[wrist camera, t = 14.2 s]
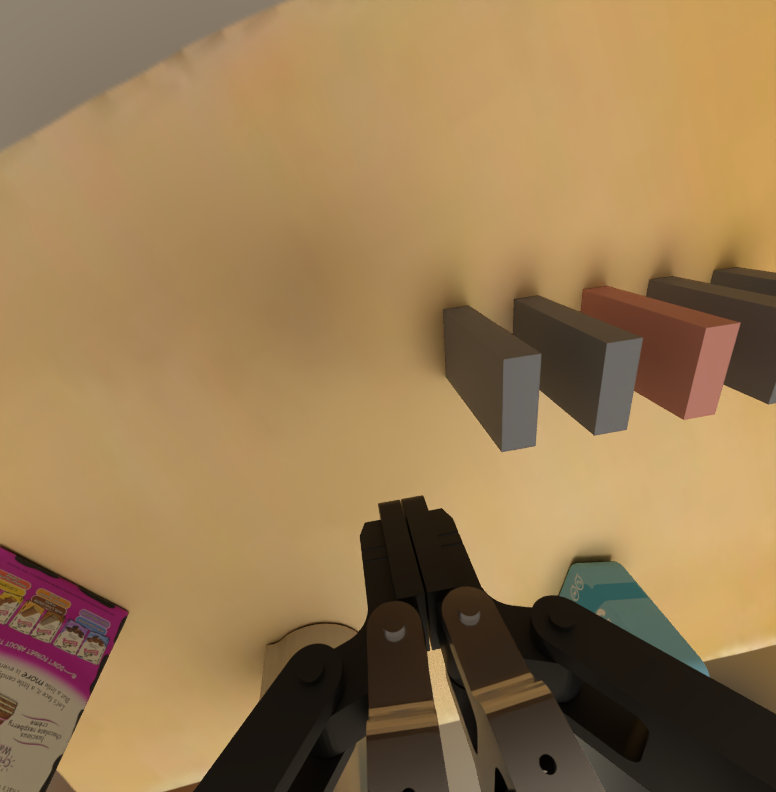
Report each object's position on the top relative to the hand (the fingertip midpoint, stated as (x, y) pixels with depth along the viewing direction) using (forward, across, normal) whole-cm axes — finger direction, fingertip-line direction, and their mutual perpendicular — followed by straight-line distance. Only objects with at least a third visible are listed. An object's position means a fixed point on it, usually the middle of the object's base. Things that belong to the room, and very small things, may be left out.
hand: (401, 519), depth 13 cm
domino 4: (+16, -22, 0) cm, 27 cm away
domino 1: (+16, -7, 0) cm, 18 cm away
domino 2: (+16, -12, 0) cm, 20 cm away
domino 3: (+16, -17, 0) cm, 23 cm away
